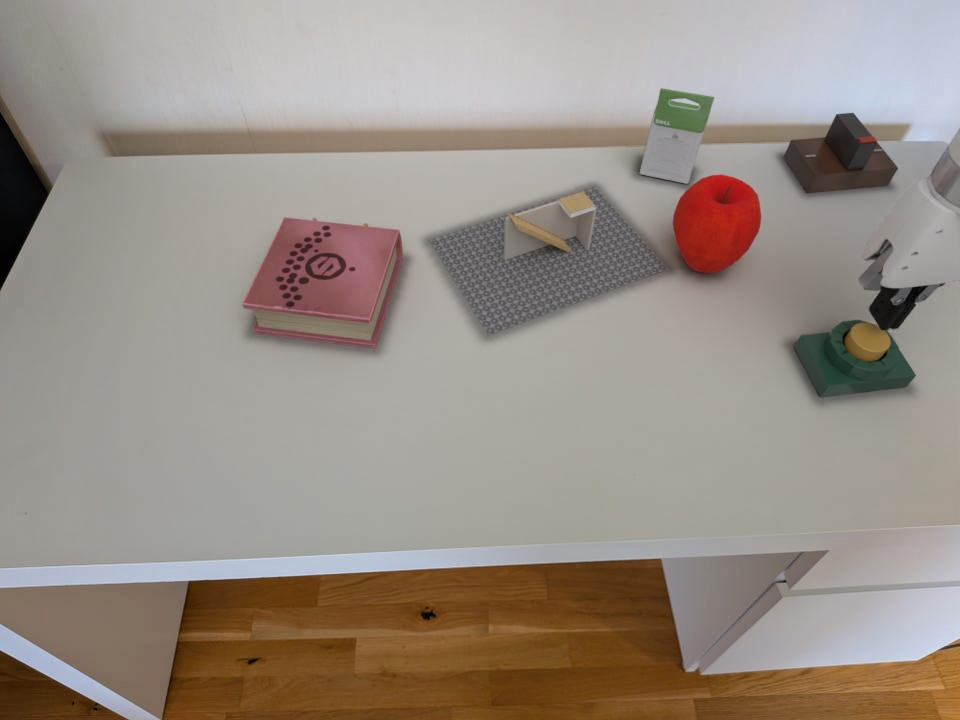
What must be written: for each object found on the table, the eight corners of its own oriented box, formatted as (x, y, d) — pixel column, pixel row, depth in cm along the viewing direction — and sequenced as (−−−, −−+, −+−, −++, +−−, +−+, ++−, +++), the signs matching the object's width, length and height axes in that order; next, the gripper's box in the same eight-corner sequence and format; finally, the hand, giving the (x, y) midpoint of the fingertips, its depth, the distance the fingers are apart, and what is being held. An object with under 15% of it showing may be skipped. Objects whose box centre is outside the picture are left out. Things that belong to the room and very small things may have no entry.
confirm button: (871, 330, 74) (879, 320, 73) (889, 359, 72) (898, 349, 71) (837, 334, 74) (844, 324, 73) (854, 363, 72) (861, 353, 70)
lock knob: (824, 139, 96) (837, 112, 93) (840, 137, 96) (854, 111, 93) (846, 169, 92) (861, 143, 89) (864, 168, 92) (879, 141, 89)
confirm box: (875, 337, 78) (892, 315, 75) (906, 387, 74) (925, 365, 71) (793, 347, 77) (806, 324, 74) (819, 397, 73) (835, 376, 70)
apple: (647, 245, 87) (668, 166, 78) (713, 228, 89) (742, 149, 80) (686, 299, 82) (714, 222, 72) (756, 280, 84) (793, 202, 74)
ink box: (692, 168, 97) (719, 81, 86) (688, 185, 95) (715, 98, 84) (643, 158, 98) (664, 71, 87) (638, 175, 96) (659, 87, 85)
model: (589, 249, 87) (597, 202, 81) (515, 275, 84) (518, 228, 78) (576, 233, 89) (584, 186, 82) (503, 258, 86) (505, 211, 80)
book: (404, 254, 86) (400, 224, 82) (375, 348, 77) (369, 319, 73) (295, 242, 87) (286, 212, 83) (253, 333, 78) (241, 304, 74)
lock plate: (860, 151, 100) (871, 132, 97) (887, 185, 95) (899, 167, 92) (783, 157, 99) (791, 138, 96) (806, 193, 94) (815, 174, 91)
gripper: (1039, 142, 59) (929, 285, 74) (878, 159, 58) (799, 300, 73) (1097, 198, 55) (968, 338, 70) (924, 217, 54) (830, 356, 69)
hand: (882, 319), depth 71 cm, fingers closed
